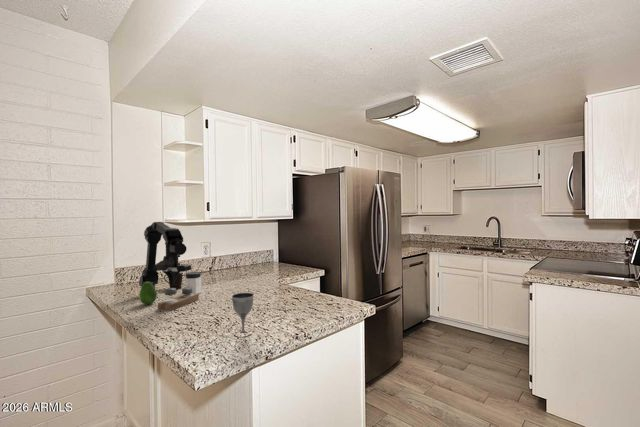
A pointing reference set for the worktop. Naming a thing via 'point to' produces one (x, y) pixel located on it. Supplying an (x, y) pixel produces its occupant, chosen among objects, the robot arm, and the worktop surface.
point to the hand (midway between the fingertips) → (172, 284)
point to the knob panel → (177, 301)
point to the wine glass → (242, 305)
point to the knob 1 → (170, 291)
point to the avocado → (148, 293)
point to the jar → (193, 282)
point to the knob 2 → (187, 291)
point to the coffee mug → (177, 282)
